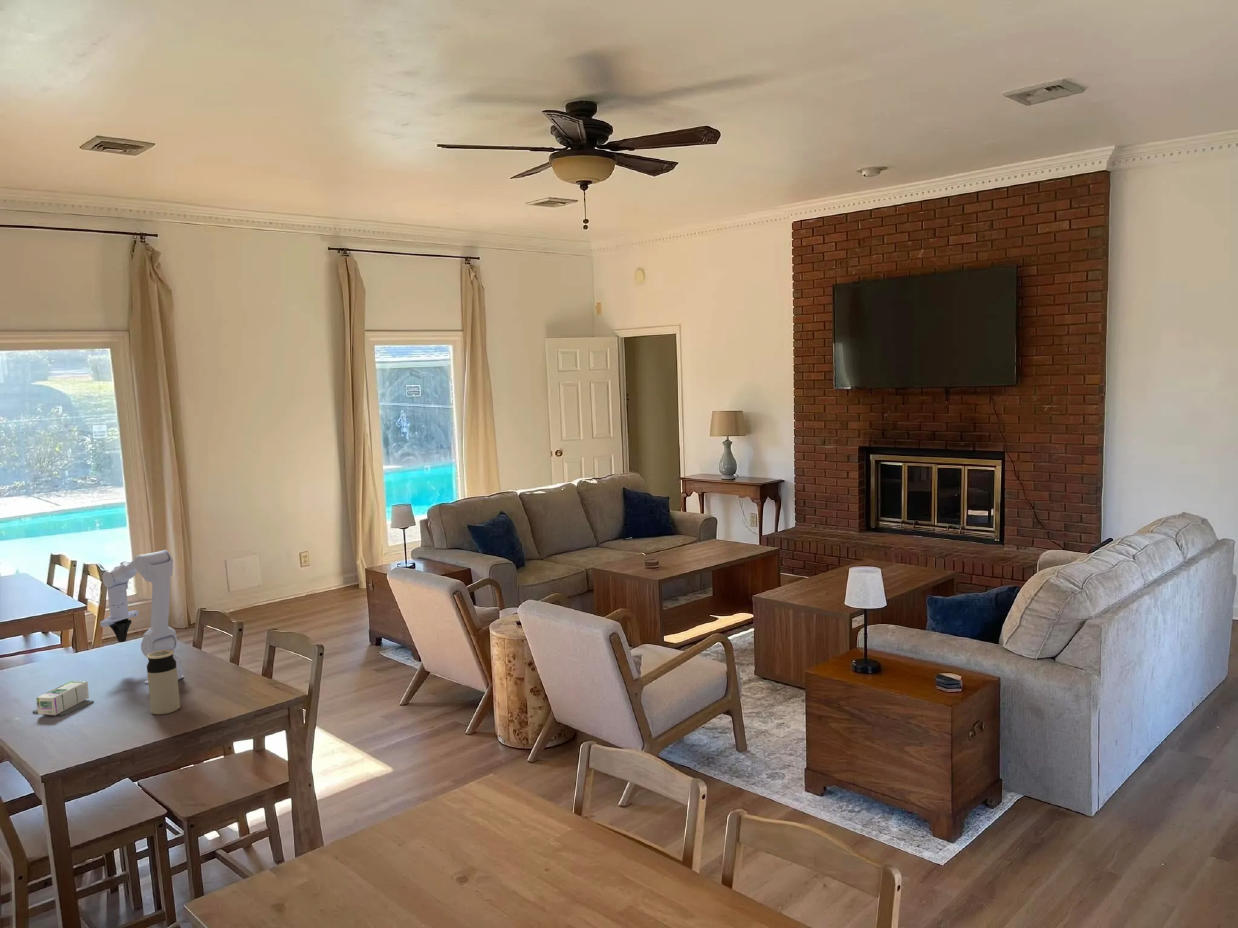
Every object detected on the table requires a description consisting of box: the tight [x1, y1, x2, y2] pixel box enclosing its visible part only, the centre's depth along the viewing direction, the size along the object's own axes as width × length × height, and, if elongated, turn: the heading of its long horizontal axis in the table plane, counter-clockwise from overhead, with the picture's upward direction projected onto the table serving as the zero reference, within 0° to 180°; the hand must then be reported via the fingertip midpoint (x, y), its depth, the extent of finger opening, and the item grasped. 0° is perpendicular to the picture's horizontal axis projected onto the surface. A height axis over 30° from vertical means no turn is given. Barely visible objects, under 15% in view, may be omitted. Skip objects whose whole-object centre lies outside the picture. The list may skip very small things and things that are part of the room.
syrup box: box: [36, 680, 90, 716], centre depth 275 cm, size 6×6×14 cm
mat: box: [32, 699, 95, 717], centre depth 276 cm, size 12×11×1 cm
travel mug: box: [146, 650, 181, 716], centre depth 270 cm, size 8×8×18 cm
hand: (122, 641), depth 309 cm, fingers closed
